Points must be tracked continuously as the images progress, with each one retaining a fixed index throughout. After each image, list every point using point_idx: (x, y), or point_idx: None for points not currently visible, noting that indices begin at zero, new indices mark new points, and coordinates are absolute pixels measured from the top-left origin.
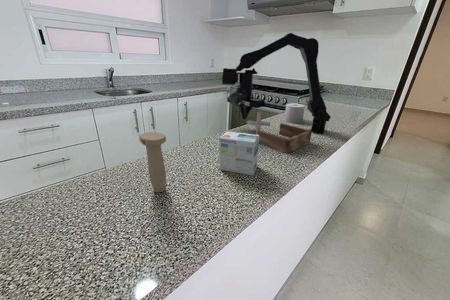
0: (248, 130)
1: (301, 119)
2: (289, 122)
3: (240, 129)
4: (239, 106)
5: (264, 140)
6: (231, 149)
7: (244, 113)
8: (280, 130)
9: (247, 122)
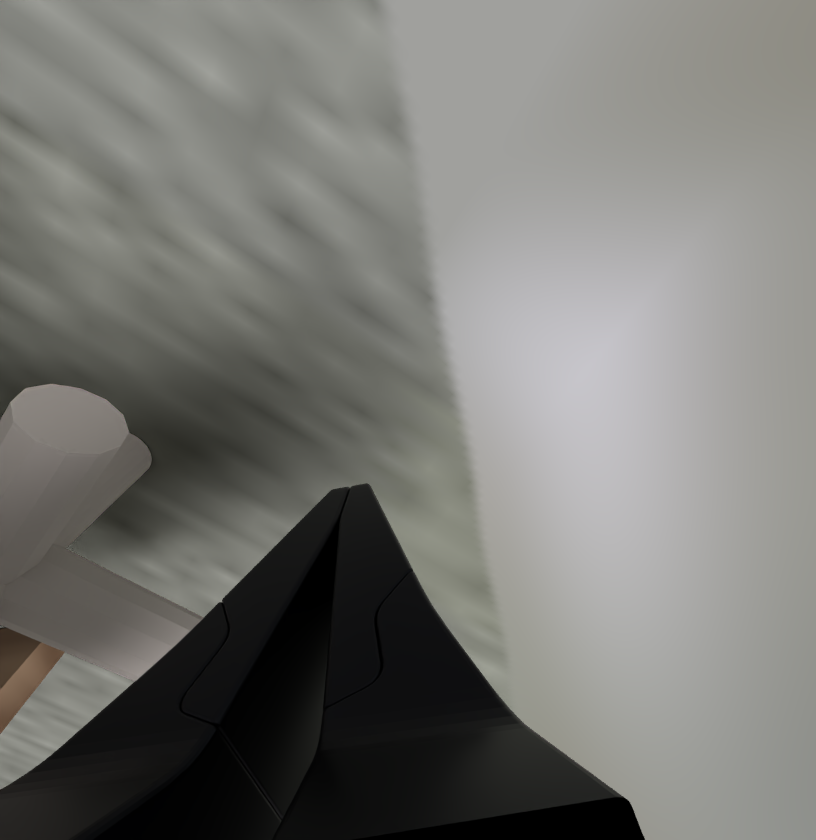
0: (301, 435)
1: None
2: None
3: (391, 366)
4: (348, 837)
5: None
6: None
7: (248, 590)
8: (9, 665)
9: (17, 403)
